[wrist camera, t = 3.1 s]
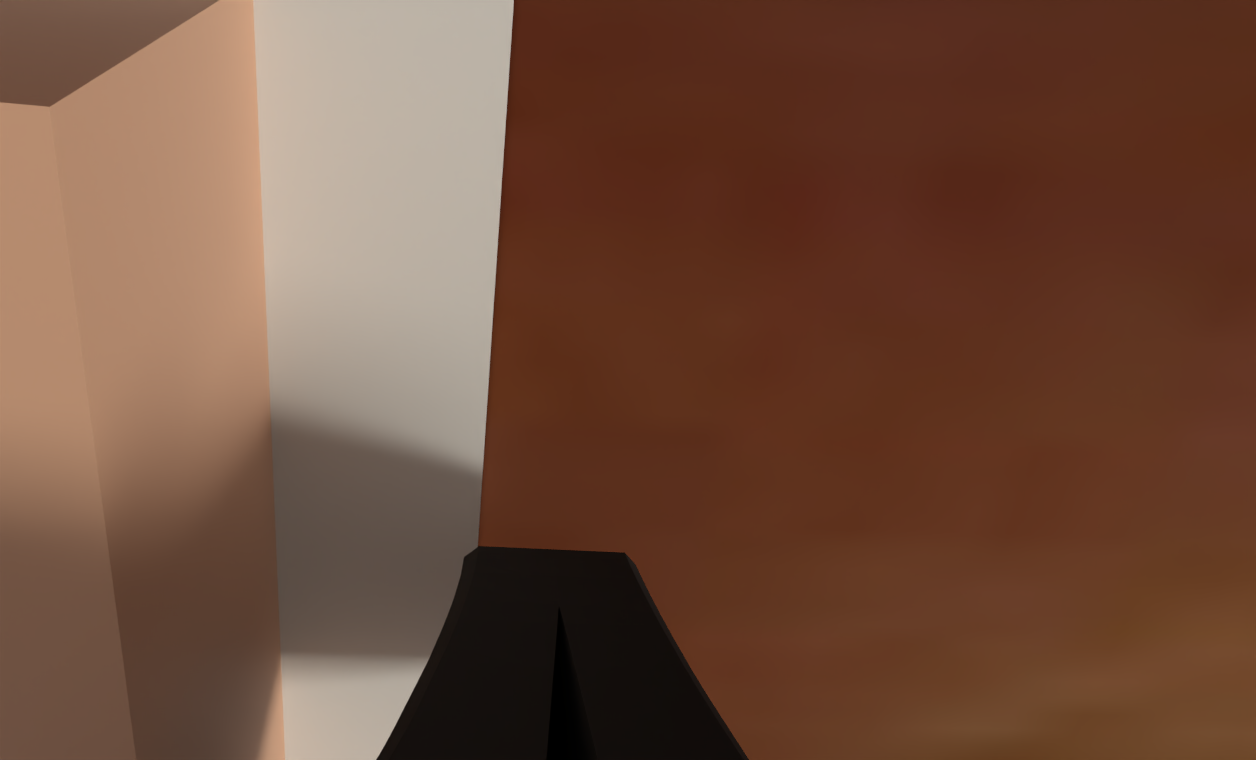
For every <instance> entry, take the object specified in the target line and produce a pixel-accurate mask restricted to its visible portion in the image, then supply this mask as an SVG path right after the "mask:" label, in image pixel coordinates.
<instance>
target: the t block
mask: <svg viewBox="0 0 1256 760" xmlns="http://www.w3.org/2000/svg"><path fill="white" fill-rule="evenodd" d="M0 760H285V744H284V720H283V696H282V673H281V649H280V625H279V601H278V578H277V554H276V530H275V506H274V483H273V459H272V435H271V411H270V388H269V364H268V340H267V316H266V292H265V269H264V245H263V221H262V197H261V174H260V150H259V126H258V102H257V79H256V55H255V31H254V7H253V0H0Z"/></svg>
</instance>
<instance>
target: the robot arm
mask: <svg viewBox="0 0 1256 760" xmlns="http://www.w3.org/2000/svg"><path fill="white" fill-rule="evenodd" d="M376 760H749V759H748V758H747V756H746V755H745V753H744V752H743V750H742V749H741V747H740V745H739V744H738V742H737V741H736V739H735V738H734V736H733V735H732V733H731V732H730V730H729V728H728V727H727V725H726V724H725V722H724V721H723V719H722V718H721V716H720V715H719V713H718V711H717V710H716V708H715V707H714V705H713V704H712V702H711V701H710V699H709V698H708V696H707V694H706V693H705V691H704V689H703V688H702V686H701V684H700V683H699V681H698V680H697V678H696V676H695V675H694V673H693V671H692V670H691V668H690V666H689V665H688V663H687V661H686V659H685V658H684V656H683V654H682V652H681V651H680V649H679V647H678V645H677V644H676V642H675V640H674V638H673V637H672V635H671V633H670V631H669V630H668V628H667V626H666V624H665V622H664V620H663V619H662V617H661V615H660V613H659V611H658V609H657V607H656V605H655V603H654V602H653V600H652V598H651V596H650V594H649V592H648V590H647V588H646V586H645V584H644V582H643V580H642V578H641V576H640V573H639V571H638V569H637V567H636V565H635V564H634V563H633V561H632V560H631V559H630V558H629V557H628V556H627V555H626V554H625V553H619V552H596V551H574V550H551V549H529V548H506V547H483V546H478V547H477V548H476V549H474V550H473V551H472V552H470V553H469V554H467V555H466V556H465V557H464V560H463V565H462V571H461V576H460V579H459V583H458V586H457V589H456V593H455V596H454V599H453V602H452V605H451V607H450V610H449V613H448V615H447V618H446V620H445V623H444V625H443V628H442V630H441V632H440V635H439V637H438V639H437V641H436V644H435V646H434V648H433V651H432V653H431V655H430V658H429V660H428V662H427V664H426V666H425V668H424V670H423V672H422V674H421V676H420V678H419V680H418V682H417V684H416V686H415V688H414V690H413V692H412V694H411V696H410V698H409V700H408V701H407V703H406V705H405V707H404V709H403V711H402V713H401V715H400V717H399V719H398V721H397V723H396V725H395V727H394V729H393V731H392V733H391V735H390V736H389V738H388V740H387V742H386V744H385V745H384V747H383V749H382V751H381V752H380V754H379V756H378V757H377V759H376Z"/></svg>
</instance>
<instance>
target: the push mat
mask: <svg viewBox="0 0 1256 760" xmlns="http://www.w3.org/2000/svg"><path fill="white" fill-rule="evenodd" d="M513 5H514V0H253V7H254V31H255V55H256V79H257V102H258V126H259V150H260V174H261V197H262V221H263V245H264V269H265V292H266V316H267V340H268V364H269V388H270V411H271V435H272V459H273V483H274V506H275V530H276V554H277V578H278V601H279V625H280V649H281V673H282V696H283V720H284V744H285V760H376V759H377V757H378V756H379V754H380V752H381V751H382V749H383V747H384V745H385V744H386V742H387V740H388V738H389V736H390V735H391V733H392V731H393V729H394V727H395V725H396V723H397V721H398V719H399V717H400V715H401V713H402V711H403V709H404V707H405V705H406V703H407V701H408V700H409V698H410V696H411V694H412V692H413V690H414V688H415V686H416V684H417V682H418V680H419V678H420V676H421V674H422V672H423V670H424V668H425V666H426V664H427V662H428V660H429V658H430V655H431V653H432V651H433V648H434V646H435V644H436V641H437V639H438V637H439V635H440V632H441V630H442V628H443V625H444V623H445V620H446V618H447V615H448V613H449V610H450V607H451V605H452V602H453V599H454V596H455V593H456V589H457V586H458V583H459V579H460V576H461V571H462V565H463V560H464V557H465V556H466V555H467V554H469V553H470V552H472V551H473V550H474V549H476V548H477V547H478V533H479V518H480V503H481V488H482V473H483V458H484V443H485V428H486V413H487V398H488V383H489V367H490V352H491V337H492V322H493V307H494V292H495V277H496V262H497V247H498V232H499V217H500V201H501V186H502V171H503V156H504V141H505V126H506V111H507V96H508V81H509V66H510V51H511V35H512V20H513Z"/></svg>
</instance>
